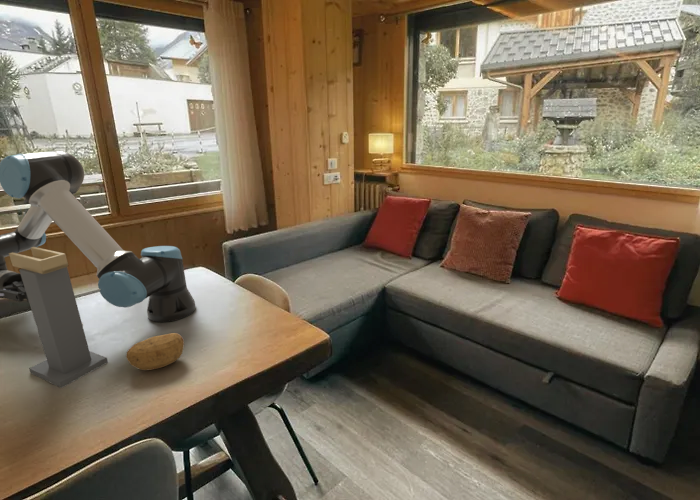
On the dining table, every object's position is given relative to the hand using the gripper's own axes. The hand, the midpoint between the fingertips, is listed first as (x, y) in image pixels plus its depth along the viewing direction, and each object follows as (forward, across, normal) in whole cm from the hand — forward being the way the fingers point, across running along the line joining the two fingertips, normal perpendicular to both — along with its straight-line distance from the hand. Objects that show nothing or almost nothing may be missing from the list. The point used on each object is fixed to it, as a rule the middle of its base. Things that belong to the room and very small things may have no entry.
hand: (50, 295), depth 124 cm
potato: (+43, -1, -13) cm, 45 cm away
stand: (+22, +10, -13) cm, 27 cm away
